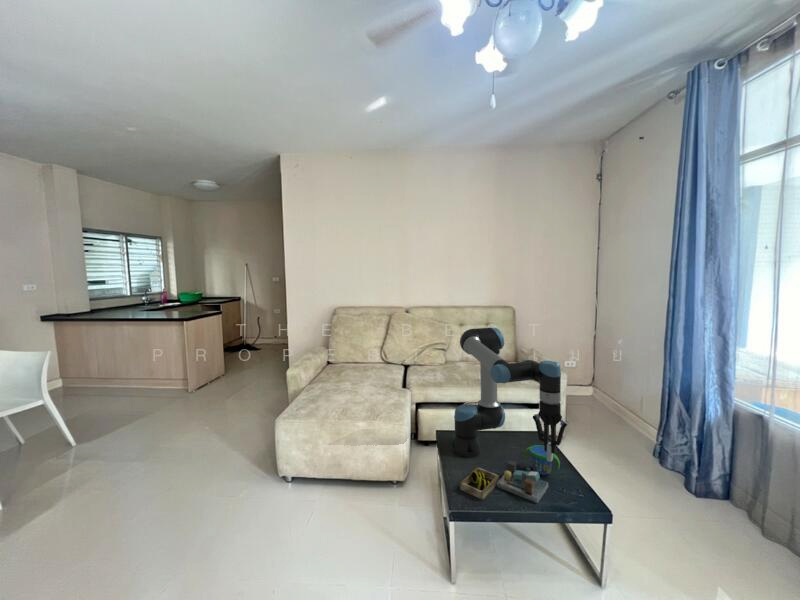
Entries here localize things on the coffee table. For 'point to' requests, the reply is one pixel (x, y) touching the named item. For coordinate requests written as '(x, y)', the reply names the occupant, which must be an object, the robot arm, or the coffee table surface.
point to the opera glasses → (479, 480)
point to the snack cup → (540, 459)
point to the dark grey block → (512, 466)
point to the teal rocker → (529, 475)
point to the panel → (518, 487)
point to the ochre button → (507, 475)
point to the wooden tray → (476, 492)
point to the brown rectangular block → (529, 485)
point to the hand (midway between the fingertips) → (550, 459)
